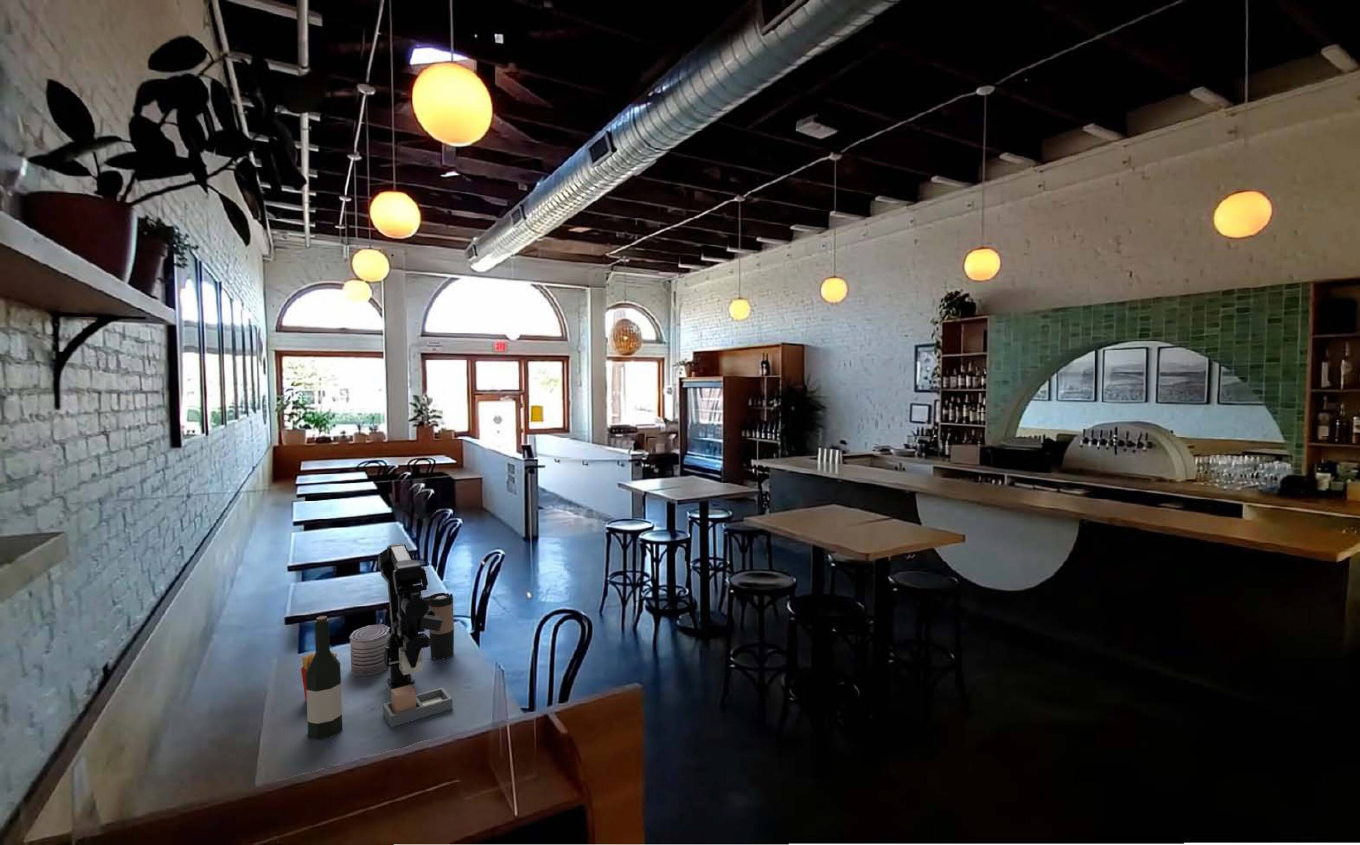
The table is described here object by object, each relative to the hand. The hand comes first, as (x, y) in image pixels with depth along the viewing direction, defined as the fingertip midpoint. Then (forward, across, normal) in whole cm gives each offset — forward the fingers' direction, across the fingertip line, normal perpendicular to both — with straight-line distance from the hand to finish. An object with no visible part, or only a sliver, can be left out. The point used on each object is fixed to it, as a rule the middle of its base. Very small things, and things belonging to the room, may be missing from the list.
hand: (411, 664), depth 181 cm
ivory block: (+2, 0, 0) cm, 2 cm away
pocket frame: (+12, -4, 0) cm, 13 cm away
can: (+12, +33, +5) cm, 36 cm away
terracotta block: (+11, -5, +3) cm, 12 cm away
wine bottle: (+12, -1, +22) cm, 25 cm away
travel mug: (+12, +30, -16) cm, 36 cm away
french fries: (+12, +20, +20) cm, 31 cm away
